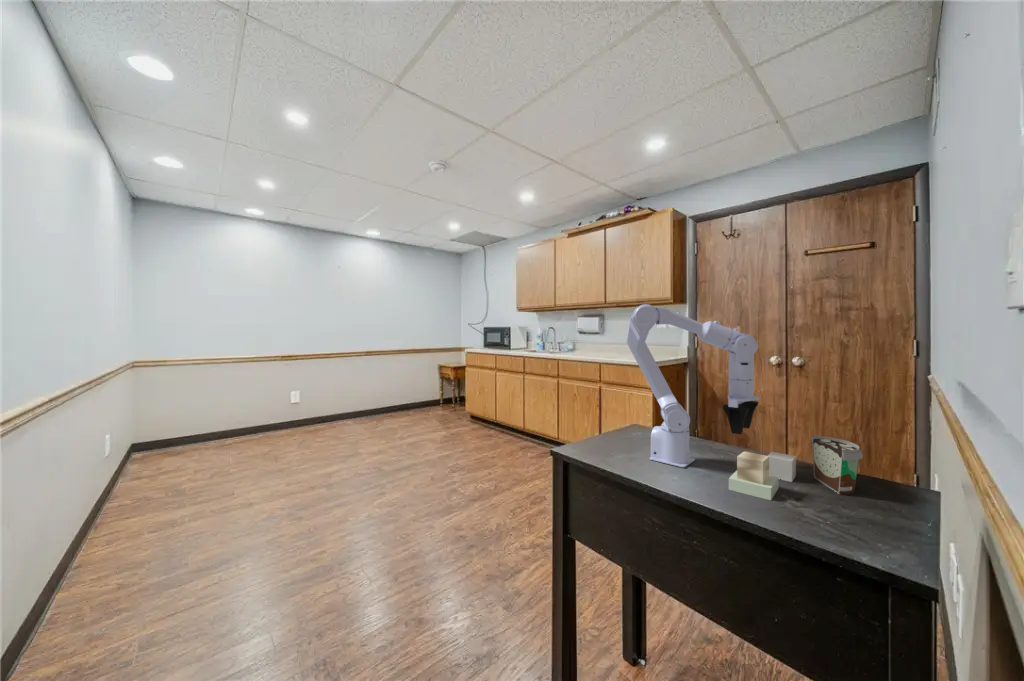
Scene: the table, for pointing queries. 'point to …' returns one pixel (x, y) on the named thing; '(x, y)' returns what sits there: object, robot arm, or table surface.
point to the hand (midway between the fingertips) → (740, 430)
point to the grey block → (782, 466)
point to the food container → (836, 463)
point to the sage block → (754, 487)
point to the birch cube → (753, 467)
